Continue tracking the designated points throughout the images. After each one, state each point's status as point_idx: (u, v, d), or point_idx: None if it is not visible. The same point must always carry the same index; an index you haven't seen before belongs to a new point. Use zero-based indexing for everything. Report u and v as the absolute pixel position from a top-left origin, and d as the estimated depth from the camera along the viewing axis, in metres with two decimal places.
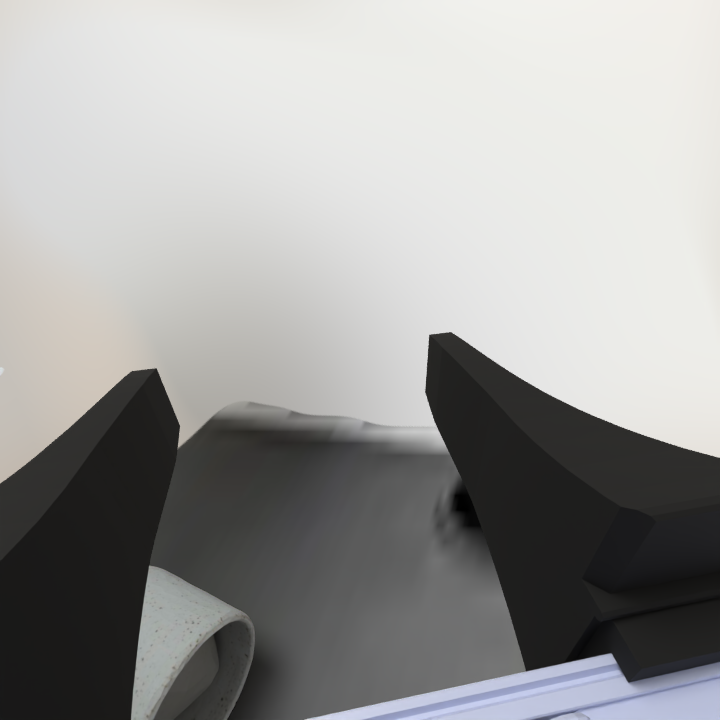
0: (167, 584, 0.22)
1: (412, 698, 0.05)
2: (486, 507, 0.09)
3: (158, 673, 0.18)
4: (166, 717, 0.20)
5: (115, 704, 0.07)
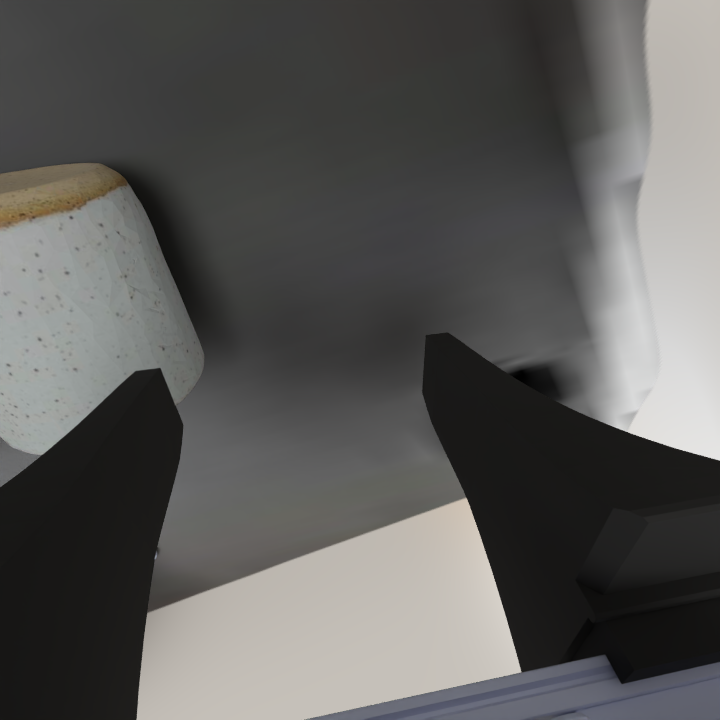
0: (105, 316, 0.13)
1: (412, 698, 0.05)
2: (482, 508, 0.09)
3: (44, 443, 0.14)
4: None
5: (120, 703, 0.07)
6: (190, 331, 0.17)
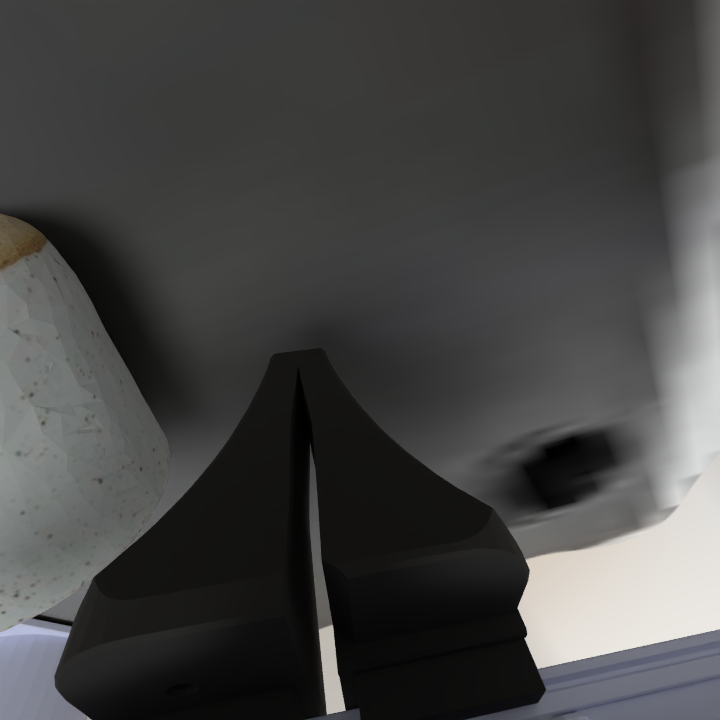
0: None
1: None
2: None
3: None
4: None
5: (319, 662, 0.08)
6: (147, 436, 0.12)
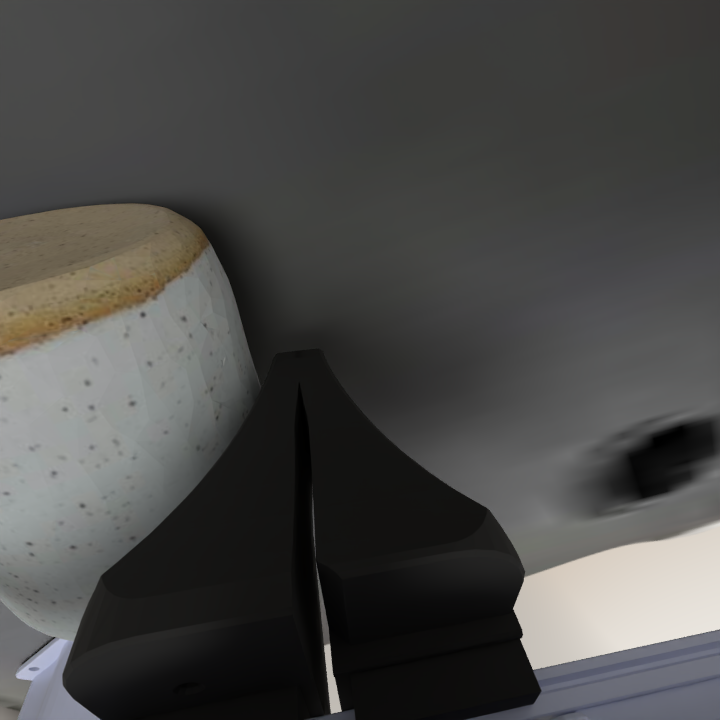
0: (183, 454, 0.08)
1: None
2: None
3: (75, 631, 0.09)
4: None
5: (323, 662, 0.08)
6: None
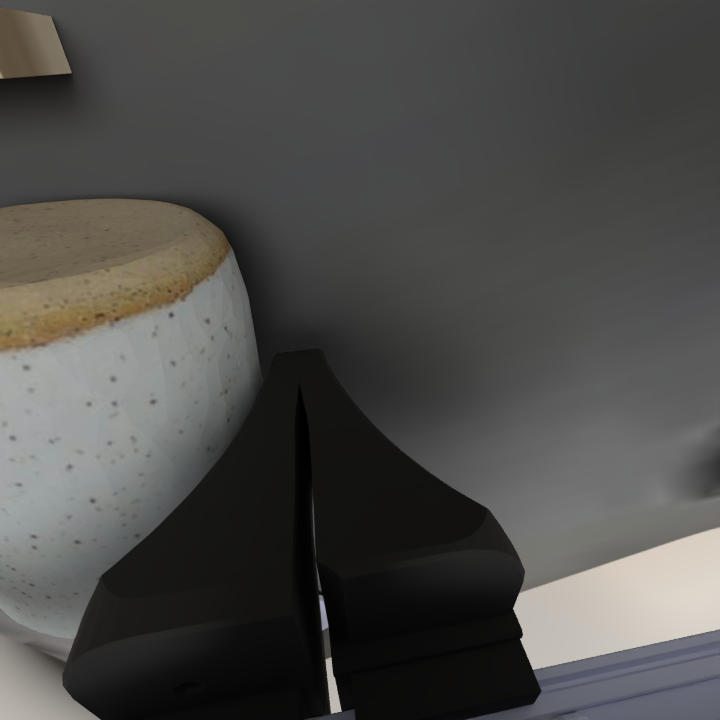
0: (193, 455, 0.08)
1: None
2: None
3: (66, 628, 0.09)
4: None
5: (323, 661, 0.08)
6: None
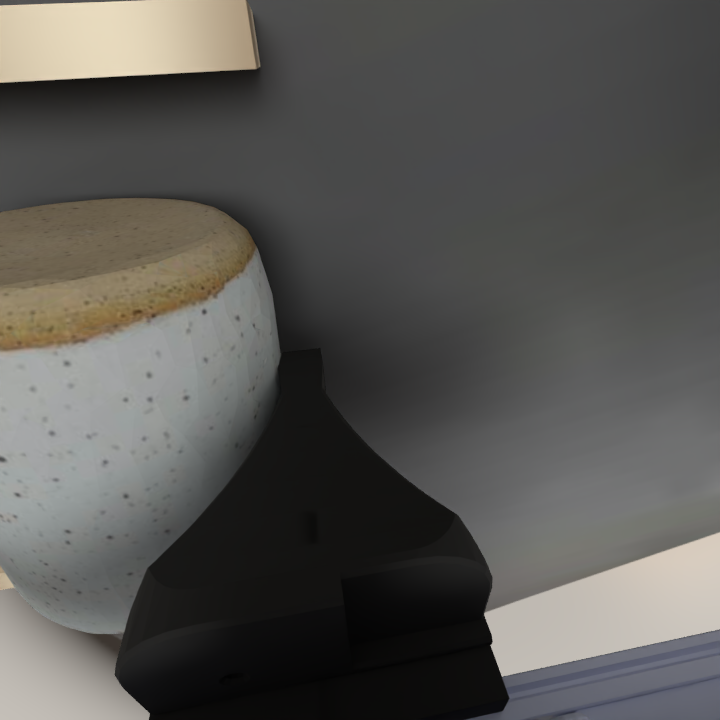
0: (222, 451, 0.08)
1: None
2: None
3: (94, 623, 0.09)
4: None
5: None
6: None
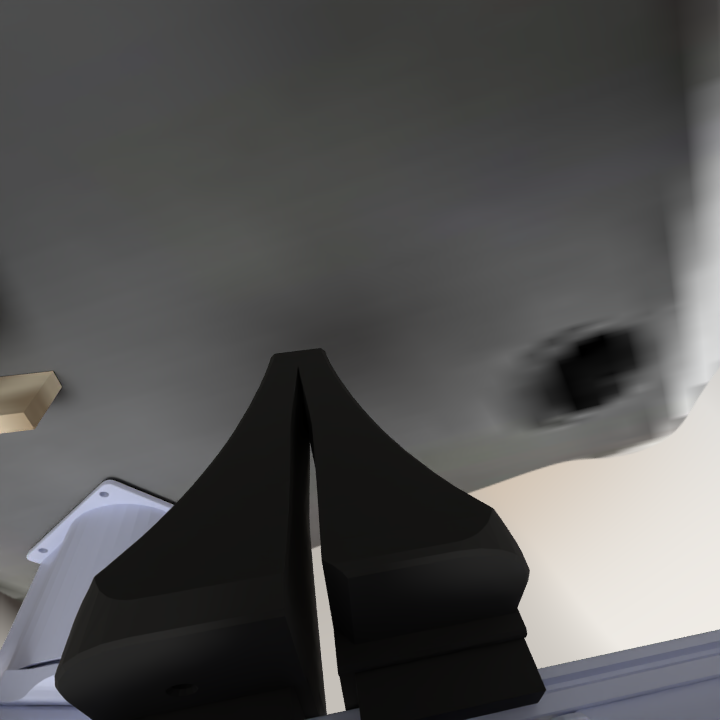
0: None
1: None
2: None
3: None
4: None
5: (319, 662, 0.08)
6: None
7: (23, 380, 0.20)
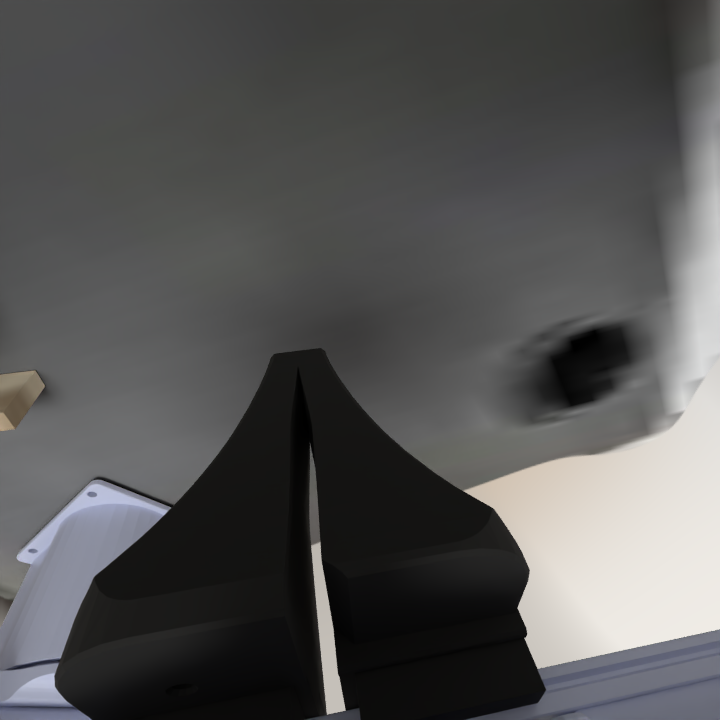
0: None
1: None
2: None
3: None
4: None
5: (319, 662, 0.08)
6: None
7: (5, 380, 0.20)
